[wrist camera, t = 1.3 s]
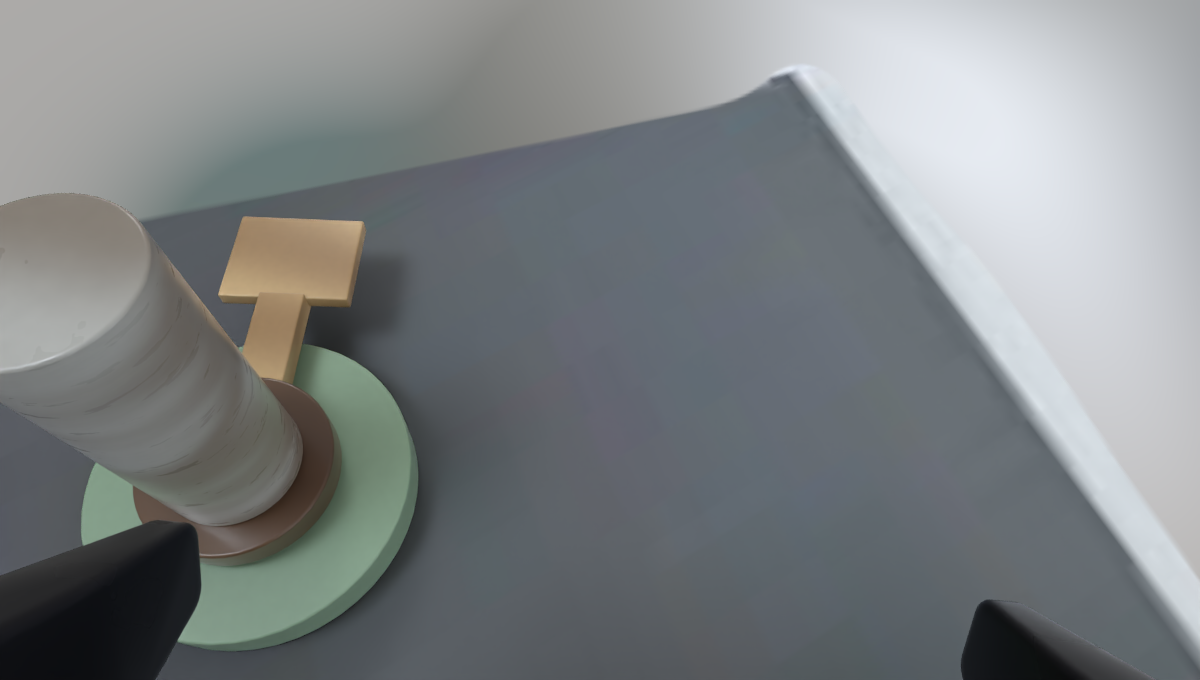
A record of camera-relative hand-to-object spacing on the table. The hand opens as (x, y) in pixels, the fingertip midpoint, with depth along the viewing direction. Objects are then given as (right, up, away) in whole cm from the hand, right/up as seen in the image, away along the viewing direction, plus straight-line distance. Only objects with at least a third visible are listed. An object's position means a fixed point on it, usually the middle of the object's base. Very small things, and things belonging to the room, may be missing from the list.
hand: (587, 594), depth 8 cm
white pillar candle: (-10, +2, +13) cm, 17 cm away
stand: (-10, -2, +13) cm, 17 cm away
